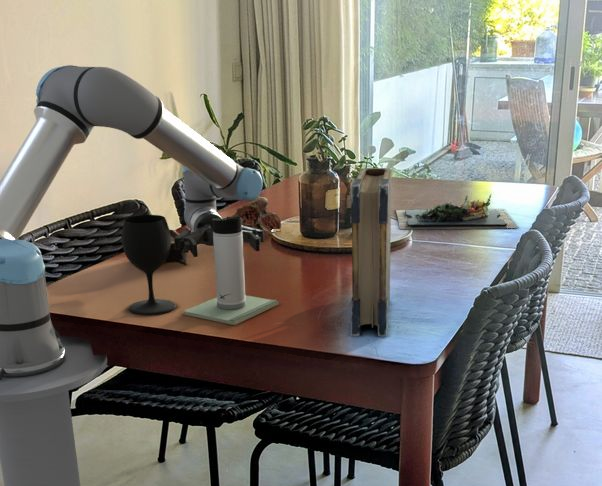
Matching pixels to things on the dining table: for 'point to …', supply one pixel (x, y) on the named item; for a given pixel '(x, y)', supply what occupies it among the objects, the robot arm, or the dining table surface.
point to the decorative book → (370, 249)
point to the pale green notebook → (232, 317)
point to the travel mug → (229, 263)
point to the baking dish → (176, 251)
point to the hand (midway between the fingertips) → (226, 248)
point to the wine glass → (147, 256)
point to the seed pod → (258, 216)
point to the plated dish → (455, 217)
